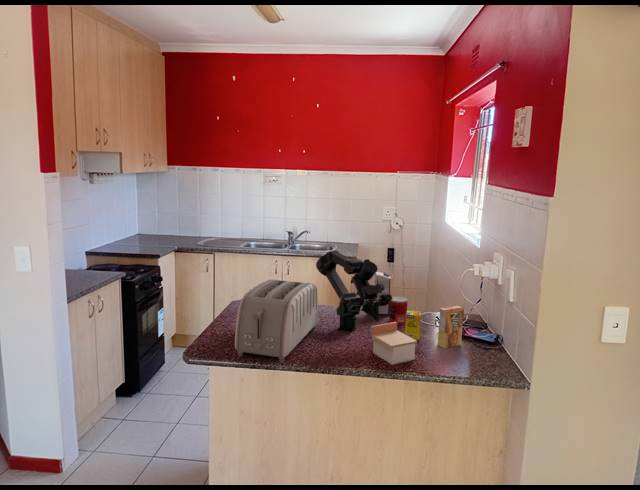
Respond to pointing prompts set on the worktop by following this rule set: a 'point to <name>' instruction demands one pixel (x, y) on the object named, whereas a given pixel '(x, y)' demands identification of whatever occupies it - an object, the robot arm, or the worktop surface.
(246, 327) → the toaster
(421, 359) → the worktop surface
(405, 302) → the canned food
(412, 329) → the supplement box
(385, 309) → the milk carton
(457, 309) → the candy box
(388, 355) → the mailer tray
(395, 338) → the lid
